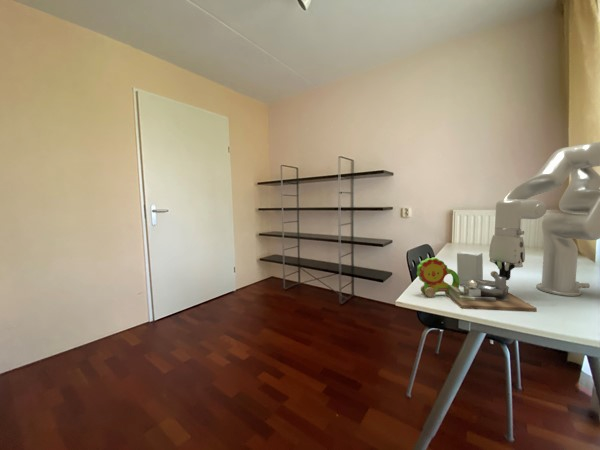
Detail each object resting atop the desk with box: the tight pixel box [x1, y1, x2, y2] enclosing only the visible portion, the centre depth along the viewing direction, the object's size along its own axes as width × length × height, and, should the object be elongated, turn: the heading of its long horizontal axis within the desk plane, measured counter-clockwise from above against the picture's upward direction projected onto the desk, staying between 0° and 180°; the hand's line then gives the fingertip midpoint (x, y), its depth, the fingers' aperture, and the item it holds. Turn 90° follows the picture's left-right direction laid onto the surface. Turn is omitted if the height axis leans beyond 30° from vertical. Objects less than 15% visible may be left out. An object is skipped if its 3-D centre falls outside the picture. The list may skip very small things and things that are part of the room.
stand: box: [444, 286, 537, 312], centre depth 94 cm, size 23×15×5 cm, turn 80°
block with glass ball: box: [463, 280, 481, 297], centre depth 94 cm, size 4×4×6 cm
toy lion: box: [416, 256, 462, 298], centre depth 101 cm, size 16×5×15 cm, turn 87°
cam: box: [474, 270, 509, 299], centre depth 97 cm, size 12×13×8 cm
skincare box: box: [456, 250, 484, 287], centre depth 111 cm, size 8×6×15 cm
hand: (504, 279), depth 97 cm, fingers closed
